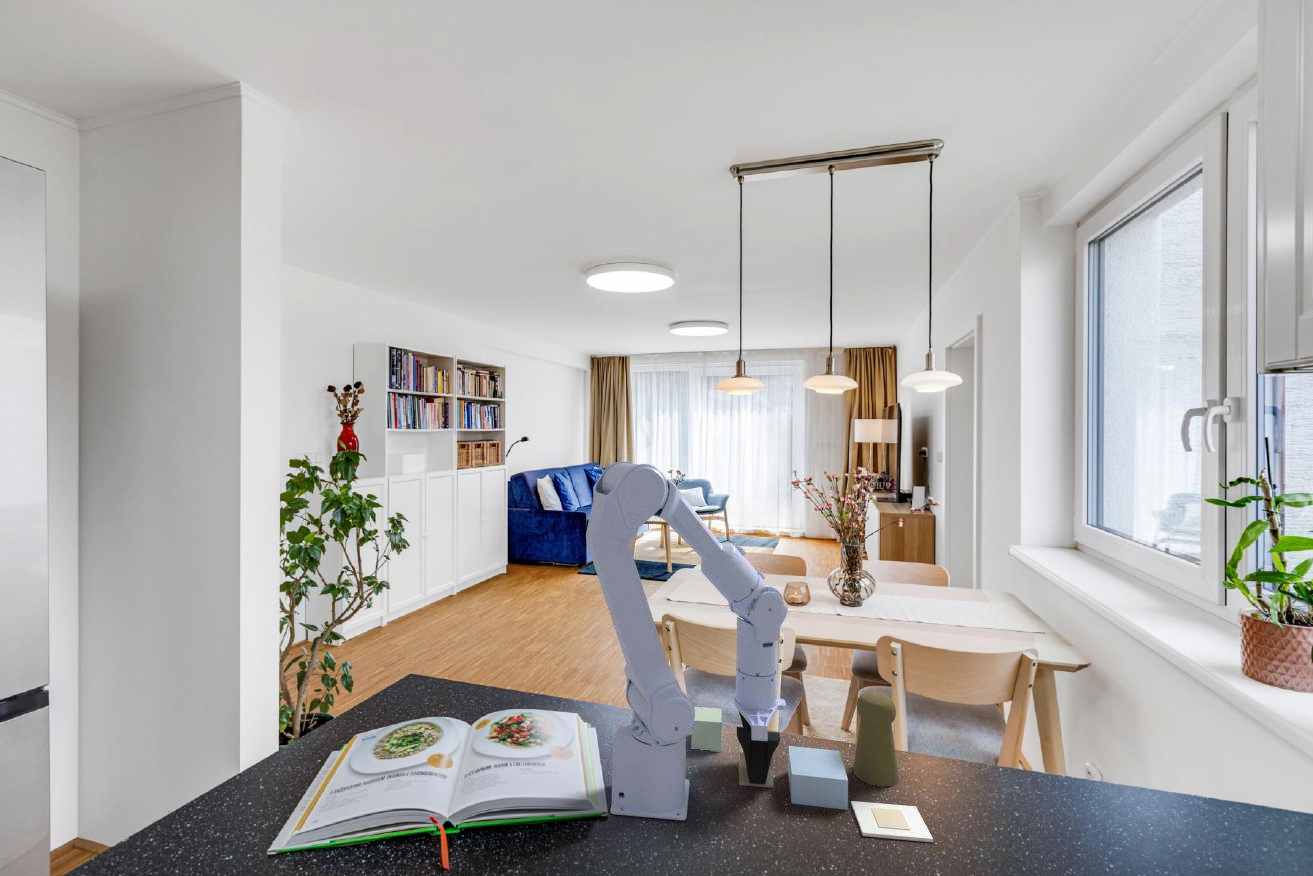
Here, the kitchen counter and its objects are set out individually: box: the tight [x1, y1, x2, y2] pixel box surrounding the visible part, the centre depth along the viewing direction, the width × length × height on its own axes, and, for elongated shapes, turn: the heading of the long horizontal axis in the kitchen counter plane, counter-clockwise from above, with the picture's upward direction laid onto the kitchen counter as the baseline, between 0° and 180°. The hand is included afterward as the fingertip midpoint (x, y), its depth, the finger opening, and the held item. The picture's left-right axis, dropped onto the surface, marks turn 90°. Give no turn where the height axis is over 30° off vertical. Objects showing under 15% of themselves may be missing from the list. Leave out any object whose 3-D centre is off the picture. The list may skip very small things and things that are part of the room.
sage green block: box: [690, 706, 723, 753], centre depth 88 cm, size 4×4×4 cm
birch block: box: [738, 742, 775, 789], centre depth 79 cm, size 4×4×4 cm
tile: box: [850, 800, 934, 843], centre depth 70 cm, size 8×6×1 cm
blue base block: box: [787, 745, 849, 811], centre depth 76 cm, size 7×7×4 cm
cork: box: [852, 691, 900, 788], centre depth 80 cm, size 6×6×11 cm
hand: (755, 766), depth 79 cm, fingers open, 7 cm apart
